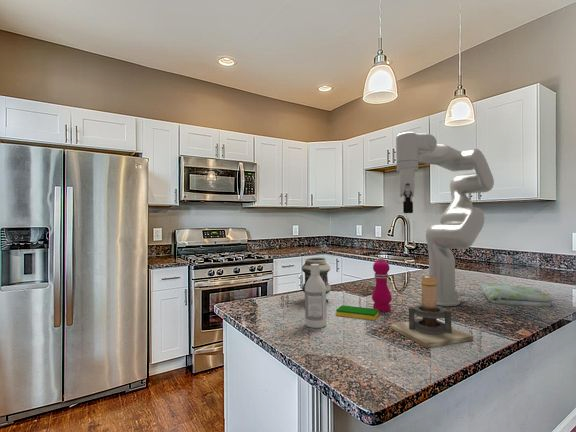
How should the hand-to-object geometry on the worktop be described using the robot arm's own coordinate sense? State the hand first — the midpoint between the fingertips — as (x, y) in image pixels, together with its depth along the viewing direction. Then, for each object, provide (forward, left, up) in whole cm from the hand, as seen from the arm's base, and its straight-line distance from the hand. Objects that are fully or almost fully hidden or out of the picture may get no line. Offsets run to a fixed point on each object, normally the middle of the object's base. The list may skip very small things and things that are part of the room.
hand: (408, 213), depth 120 cm
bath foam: (+38, +2, -36) cm, 53 cm away
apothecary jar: (+27, -25, -36) cm, 52 cm away
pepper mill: (+8, -6, -36) cm, 38 cm away
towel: (-50, +1, -37) cm, 62 cm away
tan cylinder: (+9, +21, -35) cm, 42 cm away
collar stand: (+9, +21, -36) cm, 43 cm away
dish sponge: (+20, -3, -37) cm, 42 cm away
